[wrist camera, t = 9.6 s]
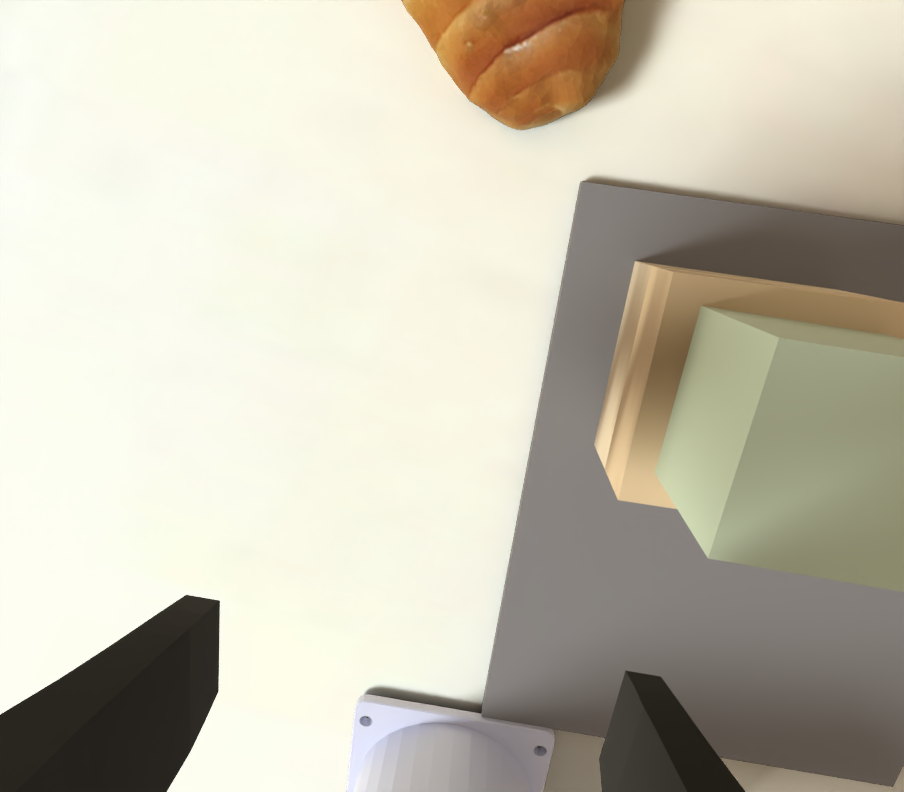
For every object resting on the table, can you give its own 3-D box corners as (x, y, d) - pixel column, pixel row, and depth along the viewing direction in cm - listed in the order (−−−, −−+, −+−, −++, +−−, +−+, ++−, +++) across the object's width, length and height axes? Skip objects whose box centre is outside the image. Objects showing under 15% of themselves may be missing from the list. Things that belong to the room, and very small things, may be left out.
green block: (824, 501, 15) (937, 597, 11) (654, 472, 15) (707, 558, 11) (887, 335, 14) (1040, 379, 10) (700, 305, 14) (779, 337, 10)
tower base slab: (776, 472, 19) (807, 500, 17) (594, 444, 19) (604, 469, 17) (836, 289, 17) (878, 297, 15) (635, 260, 17) (651, 265, 15)
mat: (886, 776, 23) (892, 787, 22) (481, 708, 23) (481, 716, 23) (1131, 257, 17) (1146, 258, 16) (580, 182, 17) (581, 181, 17)
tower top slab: (807, 500, 17) (846, 535, 15) (604, 469, 17) (617, 499, 15) (878, 297, 15) (933, 308, 13) (651, 265, 15) (673, 272, 14)
